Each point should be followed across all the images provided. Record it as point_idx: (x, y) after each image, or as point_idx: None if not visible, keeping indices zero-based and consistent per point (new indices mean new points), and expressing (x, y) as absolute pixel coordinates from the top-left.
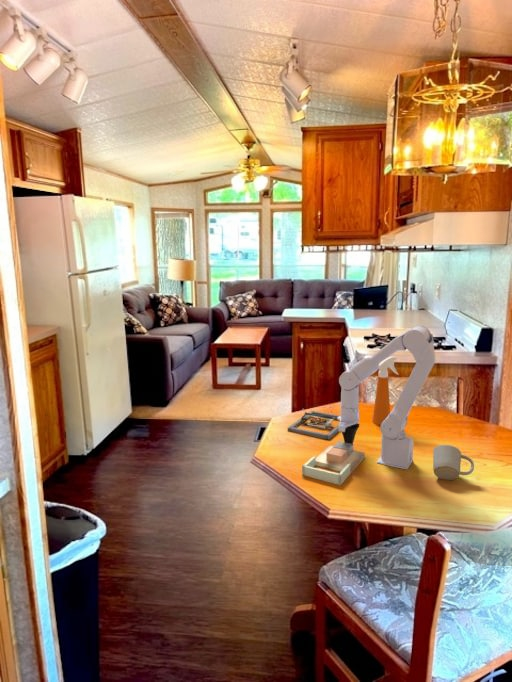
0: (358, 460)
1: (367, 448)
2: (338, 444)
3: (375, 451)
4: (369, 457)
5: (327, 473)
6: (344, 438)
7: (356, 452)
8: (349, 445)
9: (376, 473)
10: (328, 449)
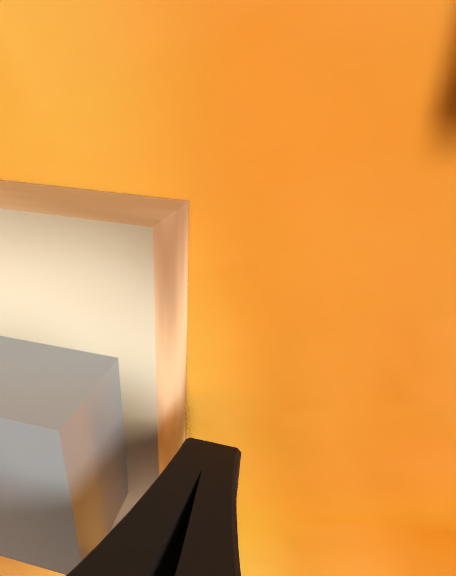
0: None
1: (444, 526)
2: None
3: (389, 572)
4: (244, 531)
5: None
6: (127, 524)
7: (121, 515)
8: (22, 544)
9: None
10: (11, 247)
